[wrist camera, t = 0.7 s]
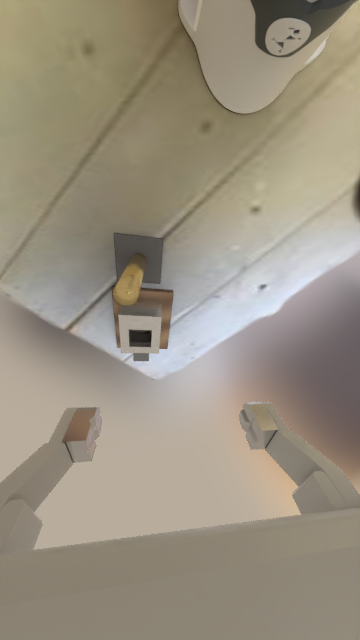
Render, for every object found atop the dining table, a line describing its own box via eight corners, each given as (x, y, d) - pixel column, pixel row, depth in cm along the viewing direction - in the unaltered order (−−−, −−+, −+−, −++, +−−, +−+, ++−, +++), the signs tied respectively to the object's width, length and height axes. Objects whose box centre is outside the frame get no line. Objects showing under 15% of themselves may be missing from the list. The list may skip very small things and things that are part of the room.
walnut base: (113, 285, 38) (111, 288, 37) (172, 290, 40) (173, 293, 38) (118, 343, 47) (117, 347, 45) (167, 345, 48) (167, 348, 47)
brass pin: (131, 252, 34) (112, 282, 21) (146, 253, 34) (138, 284, 21) (131, 267, 36) (114, 304, 22) (146, 268, 36) (138, 306, 23)
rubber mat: (114, 233, 32) (113, 233, 32) (162, 238, 34) (162, 239, 33) (117, 279, 37) (117, 280, 37) (160, 283, 38) (160, 283, 38)
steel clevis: (124, 298, 38) (118, 314, 32) (161, 300, 39) (161, 317, 33) (127, 346, 45) (122, 367, 40) (158, 347, 47) (157, 367, 41)
